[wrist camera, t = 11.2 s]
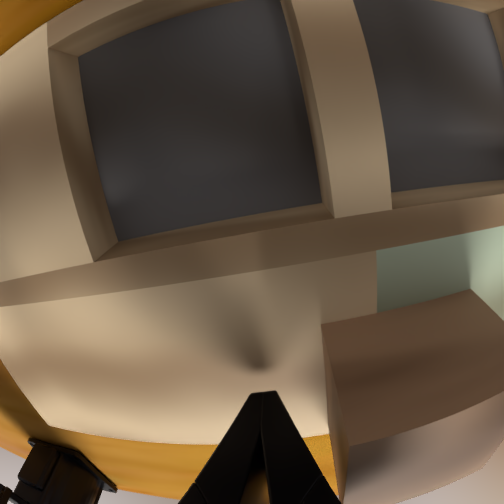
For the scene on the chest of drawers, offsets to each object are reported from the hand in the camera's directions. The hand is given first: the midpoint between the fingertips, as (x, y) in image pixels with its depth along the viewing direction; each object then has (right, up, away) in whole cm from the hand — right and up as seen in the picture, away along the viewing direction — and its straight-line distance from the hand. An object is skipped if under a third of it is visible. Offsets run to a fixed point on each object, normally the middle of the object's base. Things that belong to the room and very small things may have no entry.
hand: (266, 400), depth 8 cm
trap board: (-1, +5, +1) cm, 5 cm away
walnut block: (+4, 0, +1) cm, 4 cm away
